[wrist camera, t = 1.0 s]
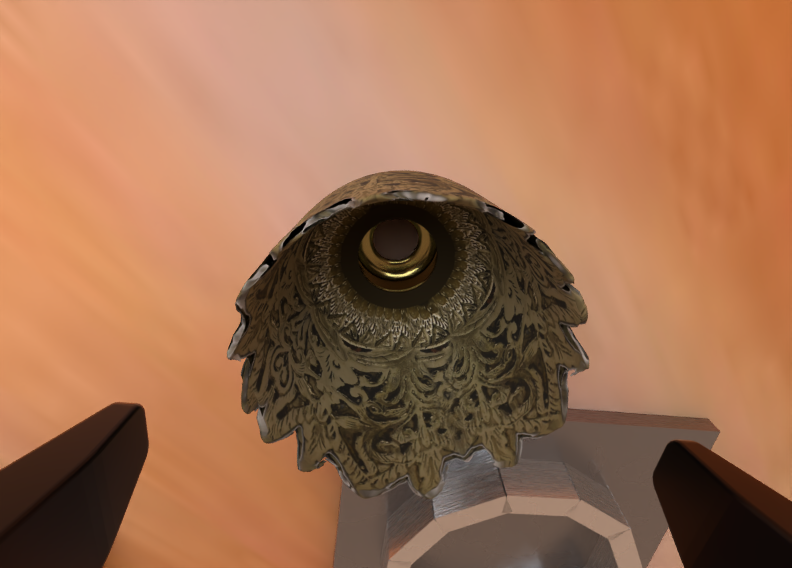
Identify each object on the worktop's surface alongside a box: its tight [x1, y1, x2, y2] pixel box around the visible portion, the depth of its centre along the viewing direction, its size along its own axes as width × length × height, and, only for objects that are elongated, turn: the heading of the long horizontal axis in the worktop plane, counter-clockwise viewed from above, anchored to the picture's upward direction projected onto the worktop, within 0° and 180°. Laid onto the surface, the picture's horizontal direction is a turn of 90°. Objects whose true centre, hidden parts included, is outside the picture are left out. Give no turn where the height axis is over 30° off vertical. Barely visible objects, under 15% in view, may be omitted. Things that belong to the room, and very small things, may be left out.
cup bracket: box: [333, 409, 720, 568], centre depth 23 cm, size 16×16×3 cm
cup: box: [227, 171, 589, 499], centre depth 13 cm, size 8×7×8 cm
